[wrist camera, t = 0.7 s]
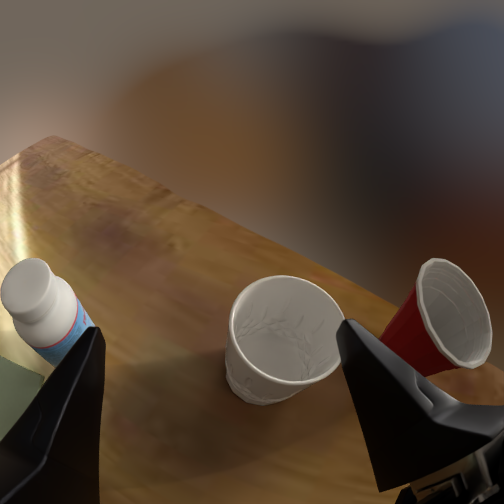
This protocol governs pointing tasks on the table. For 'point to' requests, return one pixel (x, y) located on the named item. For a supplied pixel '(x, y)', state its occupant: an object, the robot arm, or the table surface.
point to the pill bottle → (43, 309)
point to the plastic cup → (441, 322)
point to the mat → (15, 392)
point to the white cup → (280, 339)
